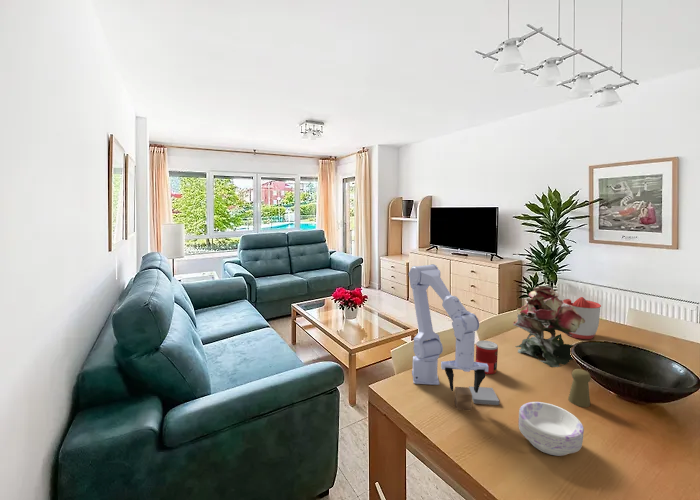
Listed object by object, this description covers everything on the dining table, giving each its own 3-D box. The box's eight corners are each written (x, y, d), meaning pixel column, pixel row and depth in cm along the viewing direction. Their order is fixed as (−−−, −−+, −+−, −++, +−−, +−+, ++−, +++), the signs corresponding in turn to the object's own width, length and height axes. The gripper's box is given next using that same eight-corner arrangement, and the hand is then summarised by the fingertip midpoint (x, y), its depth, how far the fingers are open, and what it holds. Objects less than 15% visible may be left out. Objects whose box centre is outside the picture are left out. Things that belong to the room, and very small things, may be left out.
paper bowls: (583, 473, 81) (586, 444, 80) (515, 450, 89) (516, 423, 88) (579, 436, 94) (582, 411, 92) (520, 419, 101) (521, 395, 100)
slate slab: (474, 404, 110) (474, 399, 110) (468, 391, 118) (468, 386, 118) (499, 406, 109) (499, 400, 109) (492, 393, 117) (492, 387, 117)
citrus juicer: (587, 329, 173) (590, 292, 171) (604, 342, 157) (608, 302, 154) (554, 327, 177) (557, 291, 174) (568, 340, 160) (571, 300, 158)
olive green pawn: (586, 398, 112) (589, 368, 111) (593, 408, 106) (595, 376, 105) (566, 395, 114) (568, 365, 112) (571, 405, 108) (573, 373, 107)
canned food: (498, 375, 128) (500, 348, 126) (477, 373, 129) (478, 347, 128) (494, 366, 135) (495, 340, 134) (473, 364, 137) (474, 339, 135)
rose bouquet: (588, 351, 147) (593, 286, 144) (558, 370, 131) (563, 297, 127) (530, 334, 168) (534, 277, 165) (498, 348, 152) (501, 285, 148)
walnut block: (457, 409, 107) (457, 394, 106) (454, 401, 111) (455, 386, 110) (471, 410, 106) (472, 395, 105) (468, 402, 110) (469, 387, 110)
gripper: (443, 355, 103) (442, 395, 105) (491, 357, 101) (490, 398, 103) (440, 346, 110) (439, 384, 112) (485, 347, 108) (484, 386, 110)
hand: (463, 390), depth 108 cm, fingers open, 7 cm apart
